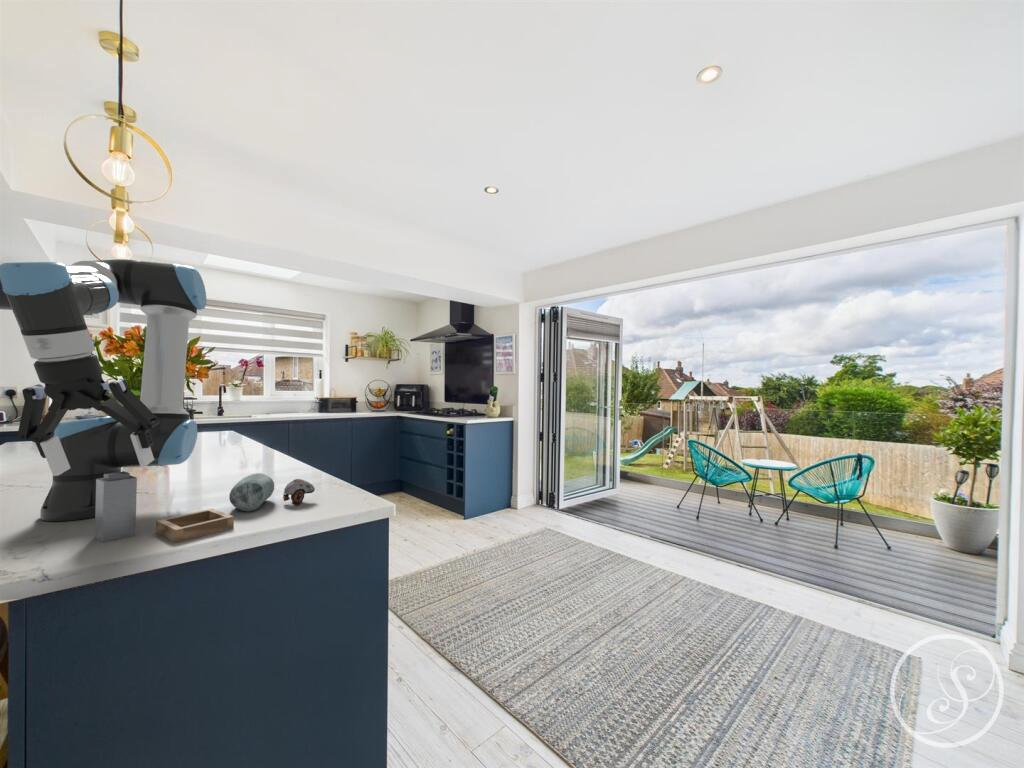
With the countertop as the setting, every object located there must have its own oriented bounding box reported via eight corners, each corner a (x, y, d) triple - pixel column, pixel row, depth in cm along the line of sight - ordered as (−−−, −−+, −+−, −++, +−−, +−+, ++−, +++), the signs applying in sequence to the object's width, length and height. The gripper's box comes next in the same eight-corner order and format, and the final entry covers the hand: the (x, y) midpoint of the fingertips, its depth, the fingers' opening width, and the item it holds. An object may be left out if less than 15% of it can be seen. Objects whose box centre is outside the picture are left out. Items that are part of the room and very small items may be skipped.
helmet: (282, 502, 109) (283, 478, 110) (313, 498, 114) (314, 475, 114) (284, 507, 105) (284, 482, 105) (316, 503, 109) (316, 479, 109)
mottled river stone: (268, 500, 100) (252, 464, 101) (228, 520, 97) (212, 483, 99) (288, 499, 113) (274, 467, 114) (253, 517, 110) (239, 484, 112)
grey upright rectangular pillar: (94, 537, 83) (96, 474, 83) (127, 530, 87) (128, 470, 87) (102, 542, 80) (103, 477, 81) (135, 535, 85) (136, 473, 85)
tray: (155, 532, 86) (156, 520, 86) (212, 519, 95) (212, 508, 95) (175, 542, 81) (176, 530, 81) (233, 527, 90) (233, 516, 90)
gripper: (-50, 367, 63) (4, 486, 69) (135, 356, 67) (170, 469, 74) (-3, 356, 70) (43, 465, 76) (162, 347, 75) (192, 451, 81)
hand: (105, 467), depth 75 cm, fingers open, 13 cm apart
